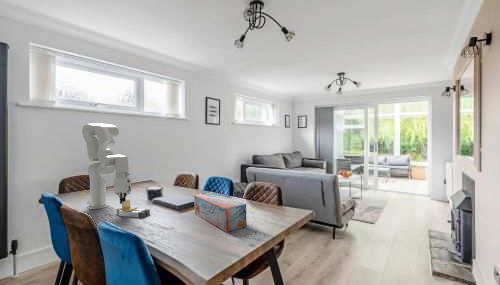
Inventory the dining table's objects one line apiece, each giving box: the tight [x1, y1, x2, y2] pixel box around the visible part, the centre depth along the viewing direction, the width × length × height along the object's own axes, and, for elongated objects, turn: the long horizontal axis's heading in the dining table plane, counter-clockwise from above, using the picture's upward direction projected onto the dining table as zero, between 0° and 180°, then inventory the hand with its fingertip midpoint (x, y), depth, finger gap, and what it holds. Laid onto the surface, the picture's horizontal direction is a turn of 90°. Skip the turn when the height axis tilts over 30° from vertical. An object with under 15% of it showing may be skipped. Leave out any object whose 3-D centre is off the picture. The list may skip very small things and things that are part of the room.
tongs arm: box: [116, 207, 147, 219], centre depth 156 cm, size 22×5×3 cm, turn 76°
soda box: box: [193, 191, 247, 233], centre depth 146 cm, size 41×14×13 cm, turn 37°
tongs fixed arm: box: [133, 208, 151, 217], centre depth 158 cm, size 18×3×3 cm, turn 77°
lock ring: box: [121, 198, 139, 211], centre depth 157 cm, size 6×7×6 cm
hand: (122, 203), depth 158 cm, fingers closed
